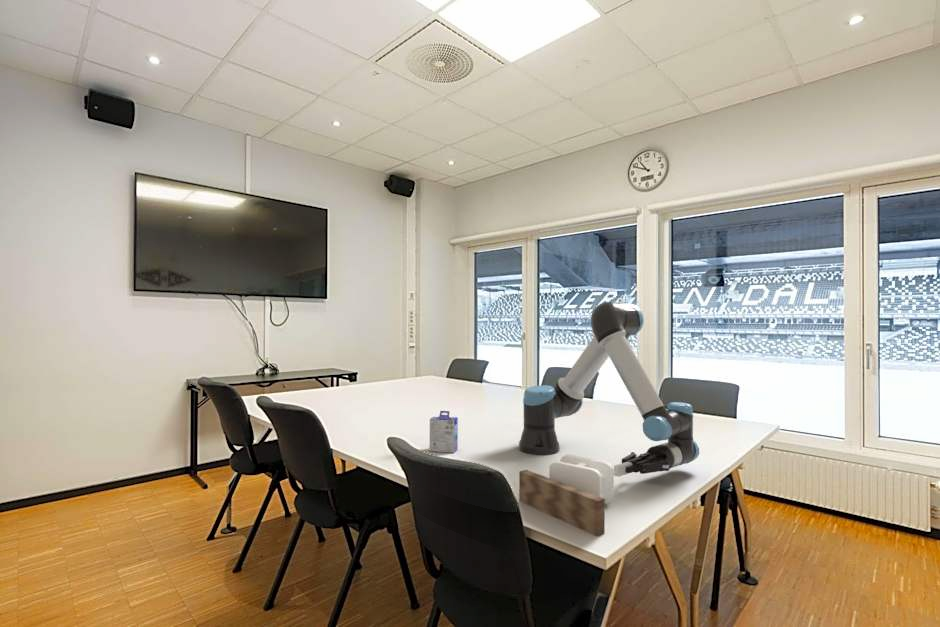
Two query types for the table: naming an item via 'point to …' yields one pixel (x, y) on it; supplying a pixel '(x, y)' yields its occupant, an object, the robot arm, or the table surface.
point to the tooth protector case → (585, 475)
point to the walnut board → (563, 502)
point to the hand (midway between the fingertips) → (616, 471)
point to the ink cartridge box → (444, 433)
